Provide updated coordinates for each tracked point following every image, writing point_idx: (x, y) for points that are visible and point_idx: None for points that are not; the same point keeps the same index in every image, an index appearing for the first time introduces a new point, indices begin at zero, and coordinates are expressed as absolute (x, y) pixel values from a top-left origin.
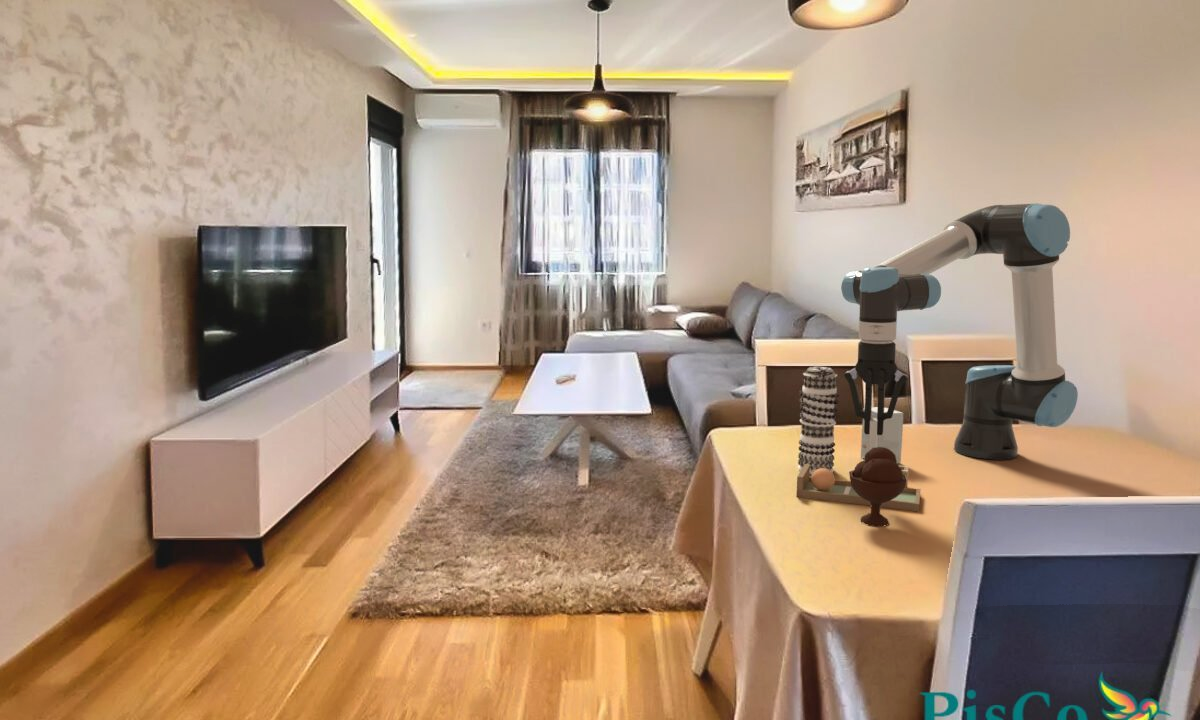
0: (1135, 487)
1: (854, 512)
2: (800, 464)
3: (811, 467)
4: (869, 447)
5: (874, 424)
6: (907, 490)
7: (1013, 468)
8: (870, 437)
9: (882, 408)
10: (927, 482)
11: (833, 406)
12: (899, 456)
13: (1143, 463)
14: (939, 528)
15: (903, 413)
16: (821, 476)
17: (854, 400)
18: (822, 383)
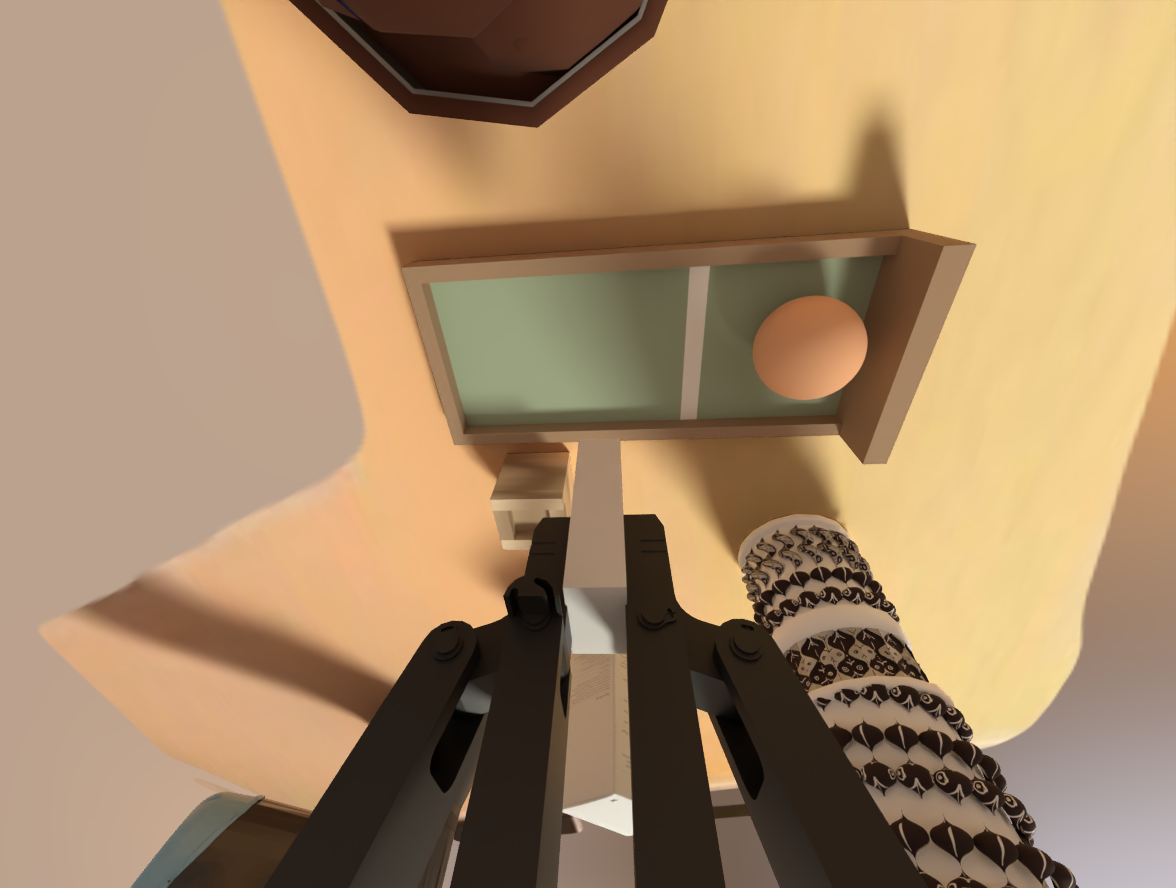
0: (127, 641)
1: (645, 99)
2: (855, 544)
3: (818, 530)
4: (617, 448)
5: (586, 563)
6: (492, 429)
7: (355, 674)
8: (614, 488)
9: (496, 726)
10: (479, 550)
11: None
12: (573, 663)
13: (202, 733)
14: (258, 37)
15: None
16: (831, 312)
17: (872, 837)
18: None
